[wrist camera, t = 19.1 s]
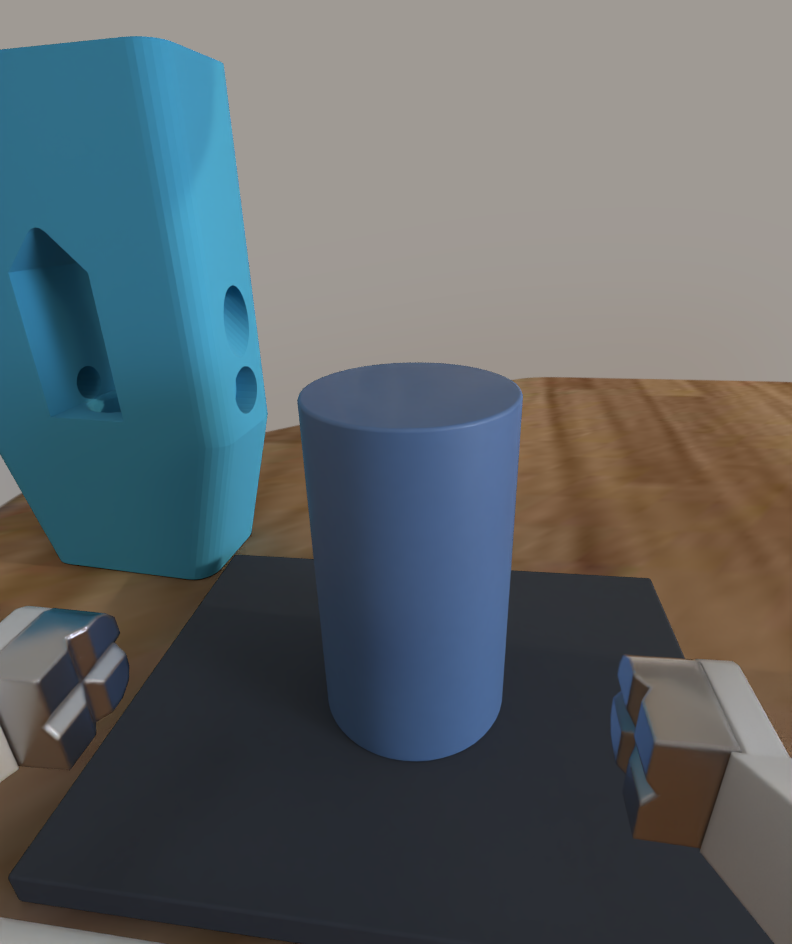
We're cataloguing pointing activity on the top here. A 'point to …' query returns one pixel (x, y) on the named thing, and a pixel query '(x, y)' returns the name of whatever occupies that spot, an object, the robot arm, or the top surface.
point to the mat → (378, 791)
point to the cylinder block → (412, 549)
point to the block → (127, 306)
